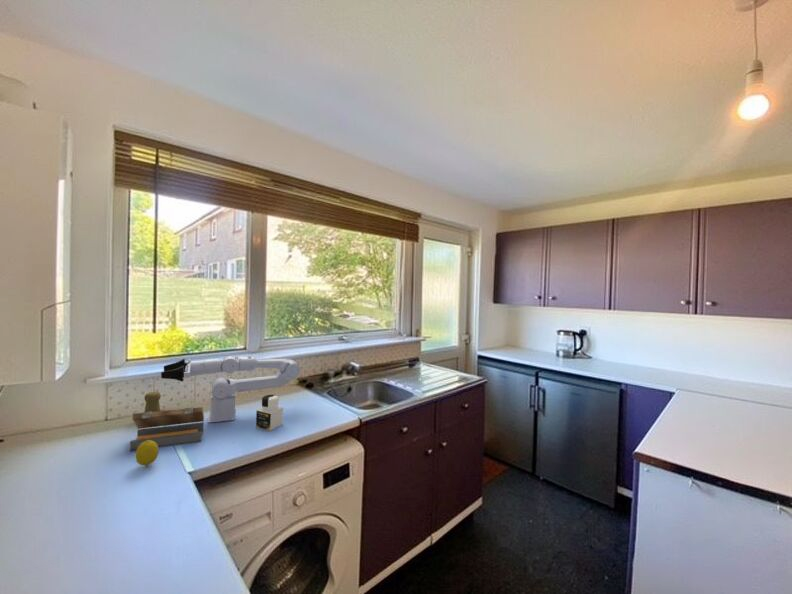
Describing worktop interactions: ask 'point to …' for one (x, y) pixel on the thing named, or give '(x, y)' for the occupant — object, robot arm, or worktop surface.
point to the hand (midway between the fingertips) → (162, 372)
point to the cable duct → (169, 435)
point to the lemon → (147, 452)
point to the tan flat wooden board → (168, 417)
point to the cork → (152, 402)
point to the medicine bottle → (269, 413)
